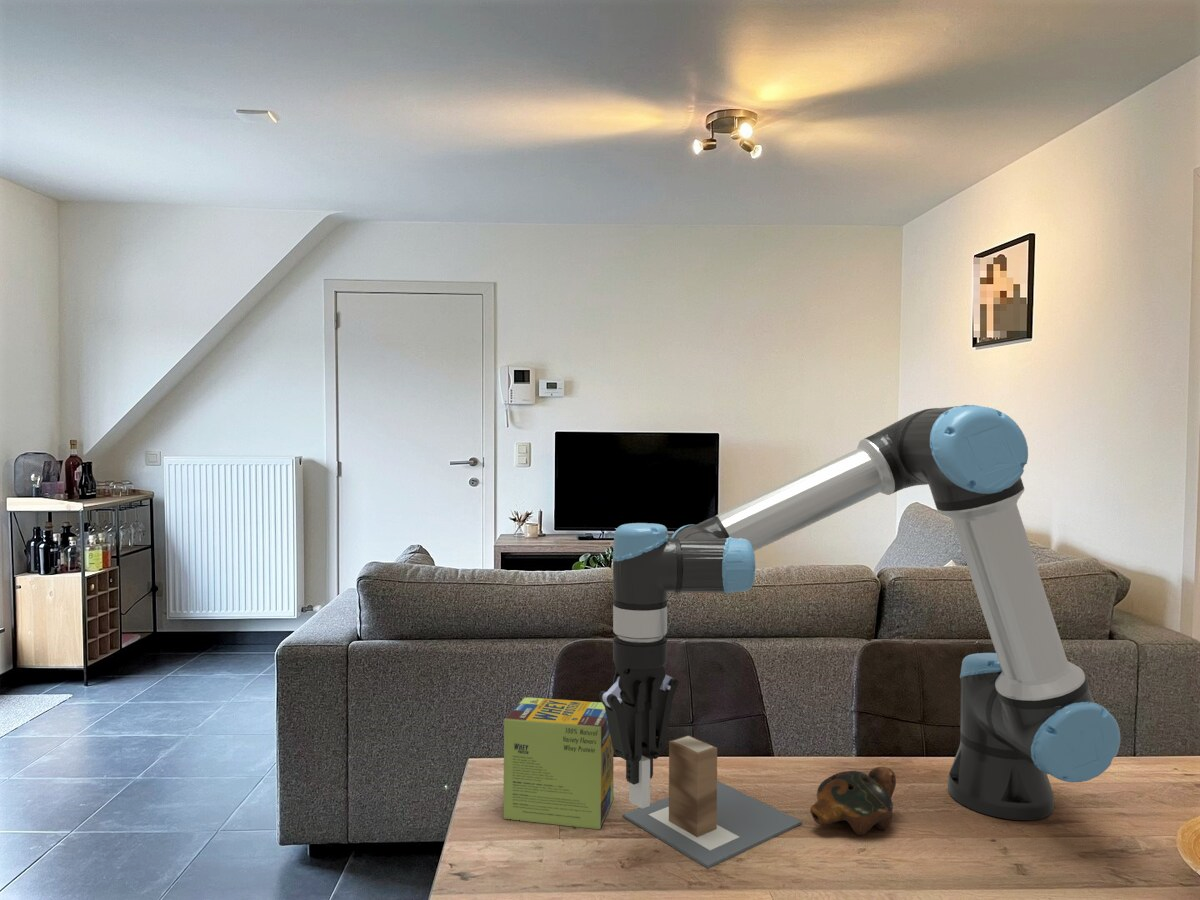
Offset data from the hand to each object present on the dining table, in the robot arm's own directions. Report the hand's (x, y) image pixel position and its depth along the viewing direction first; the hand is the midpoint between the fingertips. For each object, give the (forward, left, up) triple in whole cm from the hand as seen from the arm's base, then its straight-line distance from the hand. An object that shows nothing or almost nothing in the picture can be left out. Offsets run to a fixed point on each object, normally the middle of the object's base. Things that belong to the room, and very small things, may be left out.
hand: (639, 803), depth 110 cm
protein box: (+17, +2, -7) cm, 19 cm away
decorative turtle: (-14, -30, -7) cm, 34 cm away
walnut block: (0, -10, -6) cm, 12 cm away
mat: (0, -14, -7) cm, 16 cm away
